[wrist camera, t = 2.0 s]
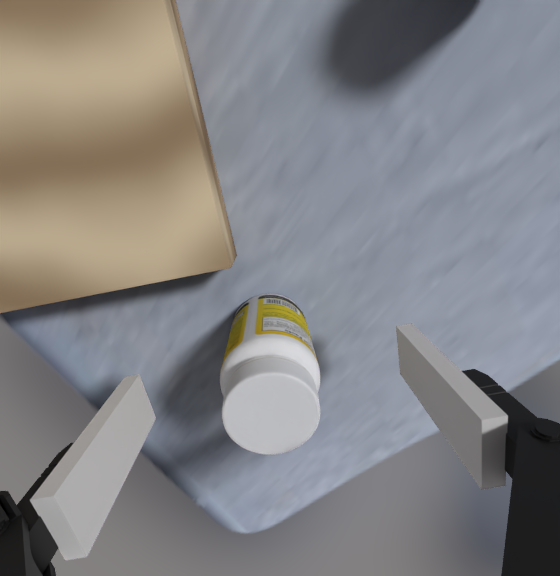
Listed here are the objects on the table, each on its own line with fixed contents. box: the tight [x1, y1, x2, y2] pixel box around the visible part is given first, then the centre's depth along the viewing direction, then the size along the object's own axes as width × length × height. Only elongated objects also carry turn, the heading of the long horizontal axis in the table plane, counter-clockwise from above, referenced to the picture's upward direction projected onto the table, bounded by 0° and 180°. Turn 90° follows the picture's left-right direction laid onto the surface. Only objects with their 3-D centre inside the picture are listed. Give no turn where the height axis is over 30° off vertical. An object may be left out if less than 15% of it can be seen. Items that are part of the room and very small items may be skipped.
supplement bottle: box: [220, 294, 320, 455], centre depth 17 cm, size 5×5×8 cm
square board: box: [0, 0, 237, 313], centre depth 16 cm, size 14×14×3 cm
